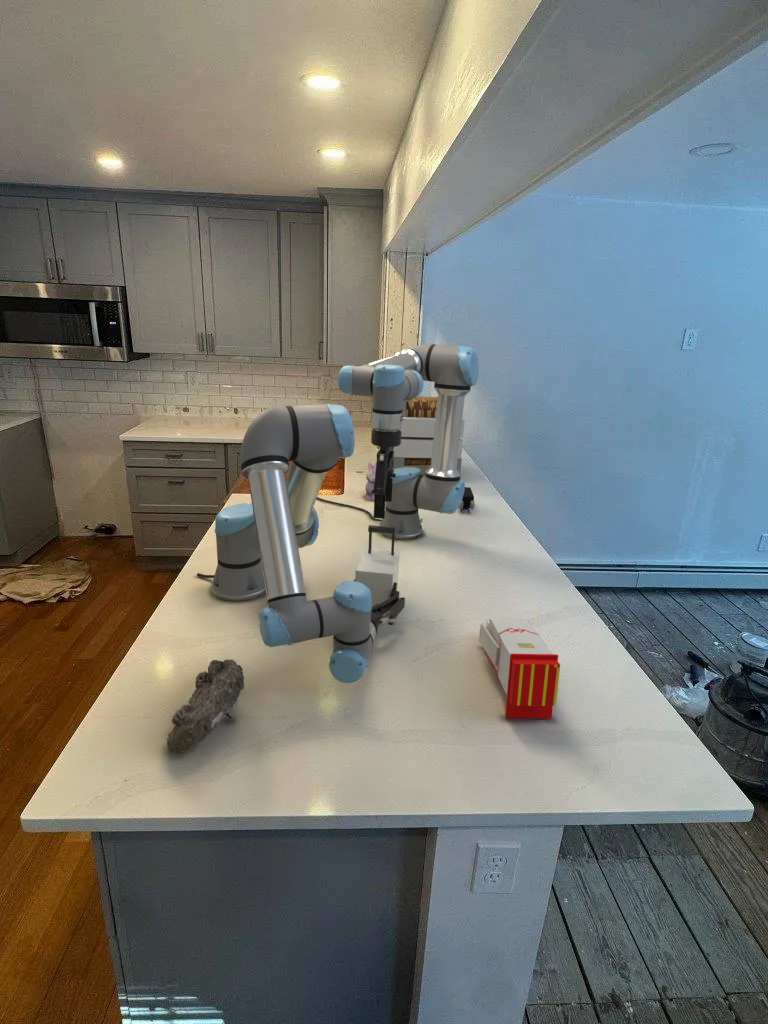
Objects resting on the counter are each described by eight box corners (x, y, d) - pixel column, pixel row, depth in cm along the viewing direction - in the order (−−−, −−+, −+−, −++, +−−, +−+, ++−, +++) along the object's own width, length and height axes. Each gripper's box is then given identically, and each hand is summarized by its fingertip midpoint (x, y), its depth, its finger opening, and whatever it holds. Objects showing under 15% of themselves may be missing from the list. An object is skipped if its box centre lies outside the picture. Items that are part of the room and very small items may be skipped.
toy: (525, 603, 136) (569, 660, 107) (520, 654, 139) (562, 725, 109) (475, 601, 135) (505, 659, 106) (471, 653, 138) (499, 724, 109)
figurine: (369, 502, 230) (370, 466, 225) (359, 494, 239) (360, 460, 234) (390, 499, 234) (391, 464, 229) (378, 492, 243) (380, 458, 238)
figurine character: (474, 518, 222) (469, 501, 235) (476, 500, 218) (471, 485, 232) (457, 517, 222) (452, 501, 235) (459, 500, 218) (454, 484, 232)
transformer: (382, 463, 289) (386, 382, 275) (445, 464, 293) (451, 384, 279) (390, 482, 257) (394, 392, 243) (460, 483, 261) (468, 394, 247)
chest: (363, 589, 159) (364, 554, 156) (397, 593, 158) (399, 557, 154) (354, 613, 147) (355, 575, 143) (390, 617, 146) (392, 579, 142)
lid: (365, 553, 156) (366, 521, 153) (399, 556, 155) (401, 524, 152) (355, 575, 143) (356, 541, 140) (392, 579, 142) (394, 544, 139)
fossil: (192, 660, 117) (244, 628, 112) (224, 691, 120) (276, 661, 115) (142, 746, 98) (202, 712, 93) (182, 779, 101) (242, 748, 96)
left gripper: (311, 639, 129) (333, 593, 150) (408, 650, 127) (417, 602, 147) (311, 610, 127) (334, 567, 148) (410, 621, 124) (419, 576, 145)
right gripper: (395, 440, 129) (390, 527, 137) (406, 421, 153) (402, 495, 160) (362, 438, 130) (360, 524, 137) (379, 419, 154) (376, 493, 161)
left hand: (375, 585), depth 148 cm, fingers closed on chest, 9 cm apart
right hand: (383, 509), depth 149 cm, fingers open, 13 cm apart
